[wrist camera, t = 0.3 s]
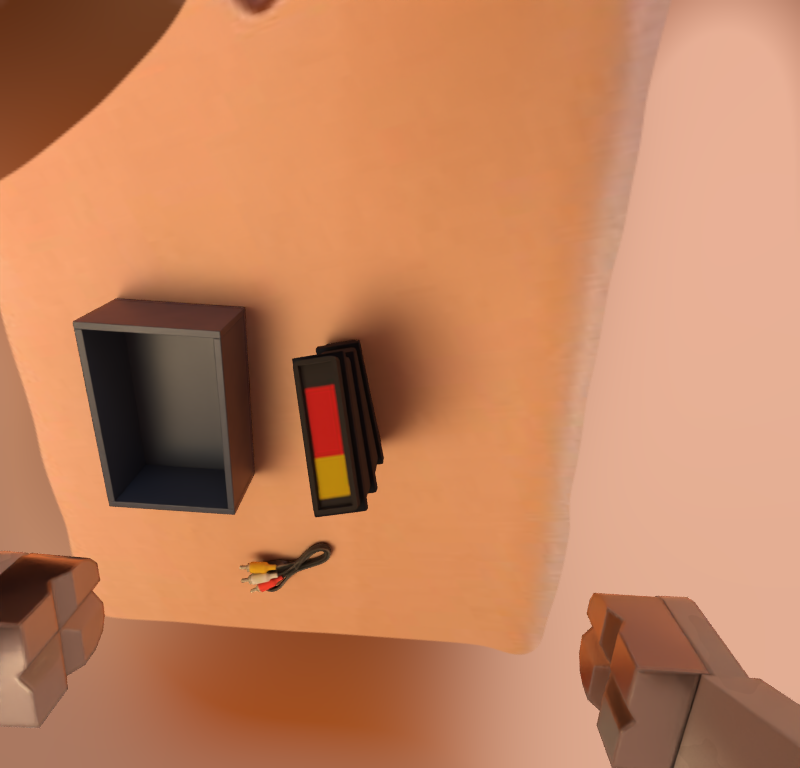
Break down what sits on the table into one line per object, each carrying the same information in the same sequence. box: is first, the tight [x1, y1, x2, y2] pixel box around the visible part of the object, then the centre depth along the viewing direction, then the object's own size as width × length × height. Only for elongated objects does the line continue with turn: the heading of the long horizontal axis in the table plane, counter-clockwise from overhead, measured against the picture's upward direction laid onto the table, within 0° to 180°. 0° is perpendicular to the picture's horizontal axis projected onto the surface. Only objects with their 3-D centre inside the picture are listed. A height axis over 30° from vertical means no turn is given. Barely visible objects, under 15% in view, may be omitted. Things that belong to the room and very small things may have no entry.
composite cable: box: [239, 544, 331, 593], centre depth 57 cm, size 10×5×2 cm, turn 106°
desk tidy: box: [73, 299, 255, 515], centre depth 47 cm, size 17×11×6 cm, turn 176°
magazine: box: [292, 340, 384, 517], centre depth 45 cm, size 4×13×15 cm, turn 10°
